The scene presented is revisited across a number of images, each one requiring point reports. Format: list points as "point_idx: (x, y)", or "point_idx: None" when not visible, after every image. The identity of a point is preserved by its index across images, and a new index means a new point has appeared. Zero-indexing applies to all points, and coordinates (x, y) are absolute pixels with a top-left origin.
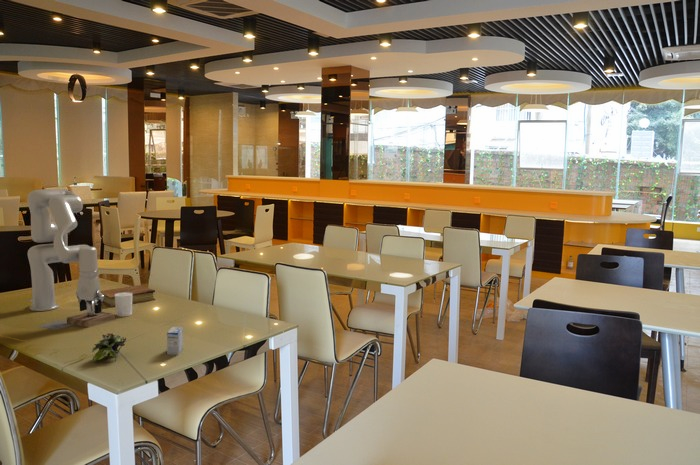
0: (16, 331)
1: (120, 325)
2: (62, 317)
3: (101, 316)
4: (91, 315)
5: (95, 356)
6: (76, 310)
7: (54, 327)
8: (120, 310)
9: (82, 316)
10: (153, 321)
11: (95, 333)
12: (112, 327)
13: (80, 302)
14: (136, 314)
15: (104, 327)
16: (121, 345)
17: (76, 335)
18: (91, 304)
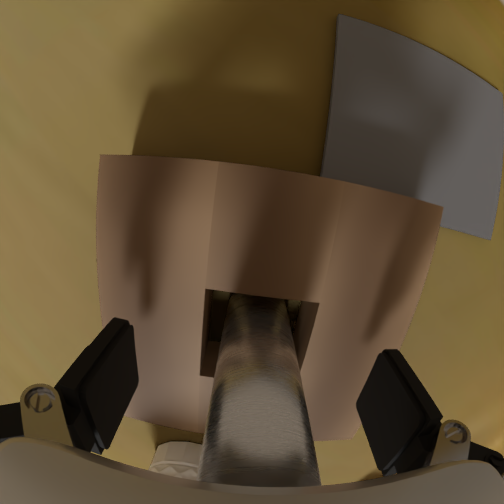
0: (499, 21)
1: (28, 301)
2: (496, 314)
3: (140, 351)
4: (225, 332)
5: None
6: (470, 412)
7: (407, 67)
8: (168, 468)
9: (322, 296)
10: (7, 382)
11: (24, 103)
12: (25, 251)
13: (429, 424)
14: (148, 465)
15: (56, 230)
16: None
17: (100, 11)
18: (206, 439)
